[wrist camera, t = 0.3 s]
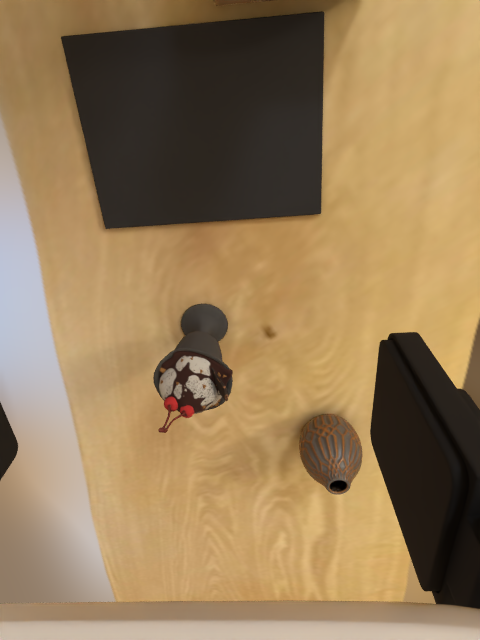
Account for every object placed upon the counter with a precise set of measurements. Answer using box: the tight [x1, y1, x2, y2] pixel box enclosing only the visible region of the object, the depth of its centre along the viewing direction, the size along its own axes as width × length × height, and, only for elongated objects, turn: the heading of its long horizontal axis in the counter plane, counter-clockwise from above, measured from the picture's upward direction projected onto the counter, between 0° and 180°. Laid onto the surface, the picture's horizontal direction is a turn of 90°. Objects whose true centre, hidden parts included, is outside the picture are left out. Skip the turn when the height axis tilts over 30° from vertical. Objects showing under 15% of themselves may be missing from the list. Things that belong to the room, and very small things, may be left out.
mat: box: [61, 12, 324, 229], centre depth 35 cm, size 15×20×1 cm
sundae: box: [154, 304, 233, 433], centre depth 38 cm, size 7×7×15 cm
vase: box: [299, 414, 362, 494], centre depth 47 cm, size 7×7×9 cm
